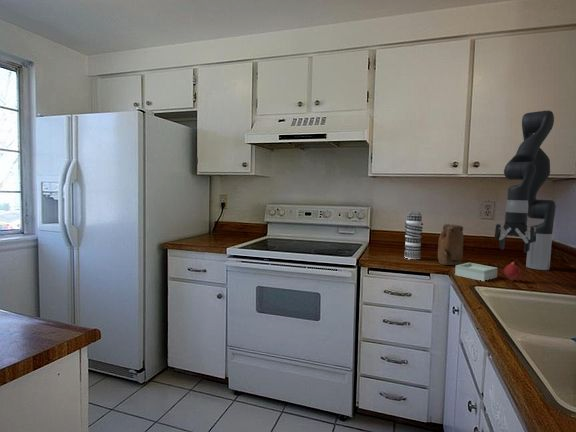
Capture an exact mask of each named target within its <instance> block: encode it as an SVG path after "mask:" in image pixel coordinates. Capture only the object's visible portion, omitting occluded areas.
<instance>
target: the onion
mask: <svg viewBox="0 0 576 432" xmlns="http://www.w3.org/2000/svg"><path fill="white" fill-rule="evenodd" d="M503 274H504V276H505V278H506V279H508V280H509V281H510V282H513V281H514V282H515V280H517V279H519V277H520V276H521V269H520V267H519V266H518V265H517V264H516V262H515V261H512V262H510V264H507V265H506V266H505V267H504V270H503Z"/></svg>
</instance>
